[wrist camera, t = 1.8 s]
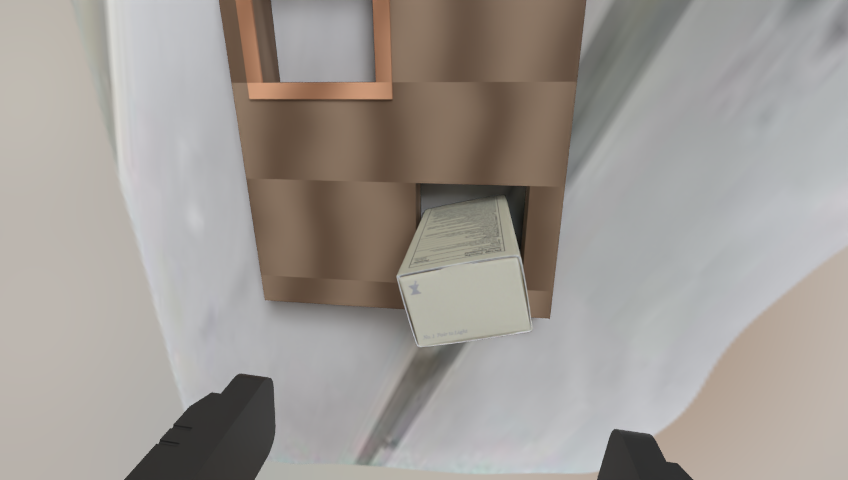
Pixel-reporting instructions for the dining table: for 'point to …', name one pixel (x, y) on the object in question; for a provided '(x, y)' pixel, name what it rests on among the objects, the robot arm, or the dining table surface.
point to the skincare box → (465, 275)
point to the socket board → (403, 139)
